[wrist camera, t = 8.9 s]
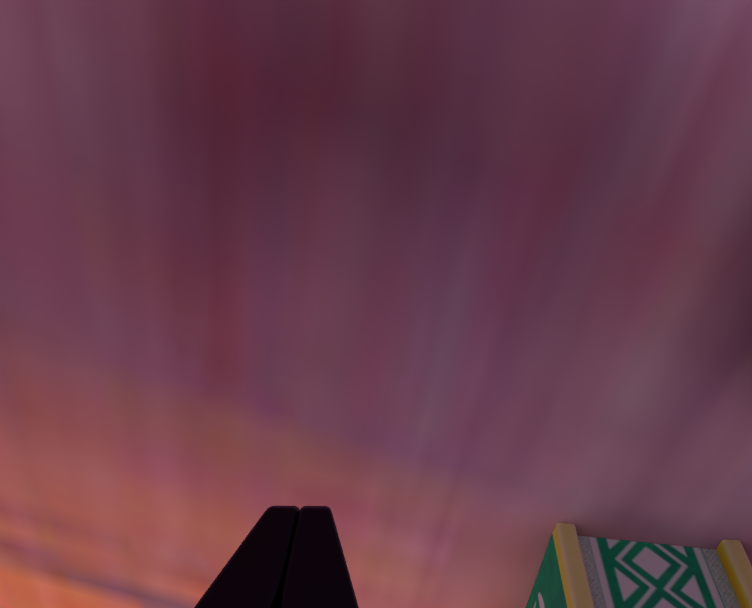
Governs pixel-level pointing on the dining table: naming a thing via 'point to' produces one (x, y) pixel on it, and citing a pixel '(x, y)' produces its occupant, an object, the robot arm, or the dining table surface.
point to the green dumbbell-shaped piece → (639, 574)
